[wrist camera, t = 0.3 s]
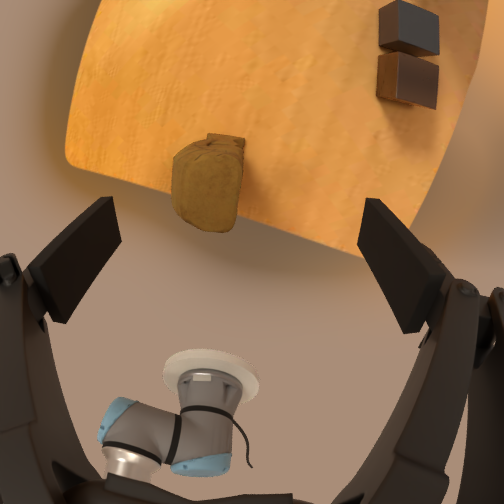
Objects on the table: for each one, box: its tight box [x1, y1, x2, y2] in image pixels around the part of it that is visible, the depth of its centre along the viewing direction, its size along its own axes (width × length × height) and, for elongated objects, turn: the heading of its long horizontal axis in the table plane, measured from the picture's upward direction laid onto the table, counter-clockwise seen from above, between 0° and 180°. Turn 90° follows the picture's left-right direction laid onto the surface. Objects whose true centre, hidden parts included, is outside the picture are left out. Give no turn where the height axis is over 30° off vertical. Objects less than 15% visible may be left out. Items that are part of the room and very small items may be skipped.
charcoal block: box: [379, 0, 439, 57], centre depth 22 cm, size 6×6×6 cm
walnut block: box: [376, 51, 439, 110], centre depth 26 cm, size 6×6×6 cm
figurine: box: [171, 133, 245, 233], centre depth 29 cm, size 7×6×15 cm
